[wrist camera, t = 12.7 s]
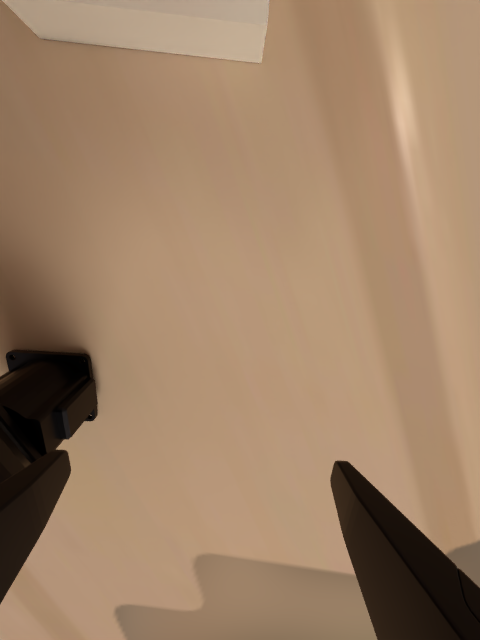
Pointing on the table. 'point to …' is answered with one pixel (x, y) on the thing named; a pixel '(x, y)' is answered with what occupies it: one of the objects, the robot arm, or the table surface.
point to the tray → (154, 25)
